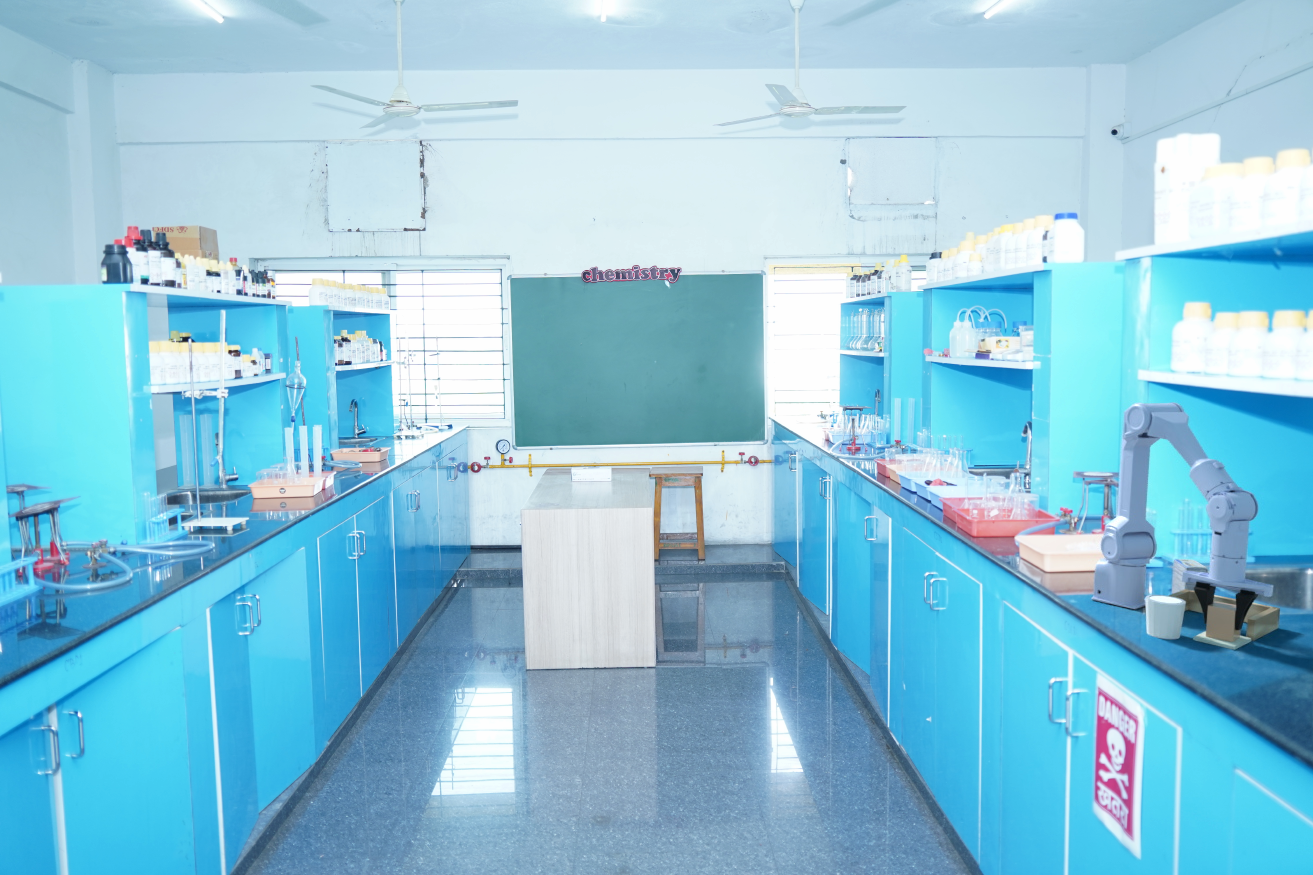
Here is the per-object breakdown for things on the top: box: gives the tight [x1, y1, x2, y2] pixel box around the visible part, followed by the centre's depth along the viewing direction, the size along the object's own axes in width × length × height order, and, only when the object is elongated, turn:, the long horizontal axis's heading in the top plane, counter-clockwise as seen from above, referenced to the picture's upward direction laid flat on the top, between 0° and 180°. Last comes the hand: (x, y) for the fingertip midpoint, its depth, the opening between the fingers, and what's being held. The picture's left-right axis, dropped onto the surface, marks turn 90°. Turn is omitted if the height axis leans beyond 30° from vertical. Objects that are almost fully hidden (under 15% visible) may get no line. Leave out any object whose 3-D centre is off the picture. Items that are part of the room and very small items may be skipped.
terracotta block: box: [1205, 601, 1242, 642], centre depth 172 cm, size 4×4×6 cm
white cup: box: [1144, 594, 1186, 640], centre depth 176 cm, size 7×7×7 cm
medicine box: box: [1171, 558, 1209, 594], centre depth 198 cm, size 8×4×9 cm, turn 168°
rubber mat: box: [1192, 630, 1252, 651], centre depth 172 cm, size 7×8×1 cm
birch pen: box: [1168, 589, 1281, 642], centre depth 183 cm, size 17×13×4 cm
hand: (1223, 625), depth 172 cm, fingers closed on terracotta block, 4 cm apart
